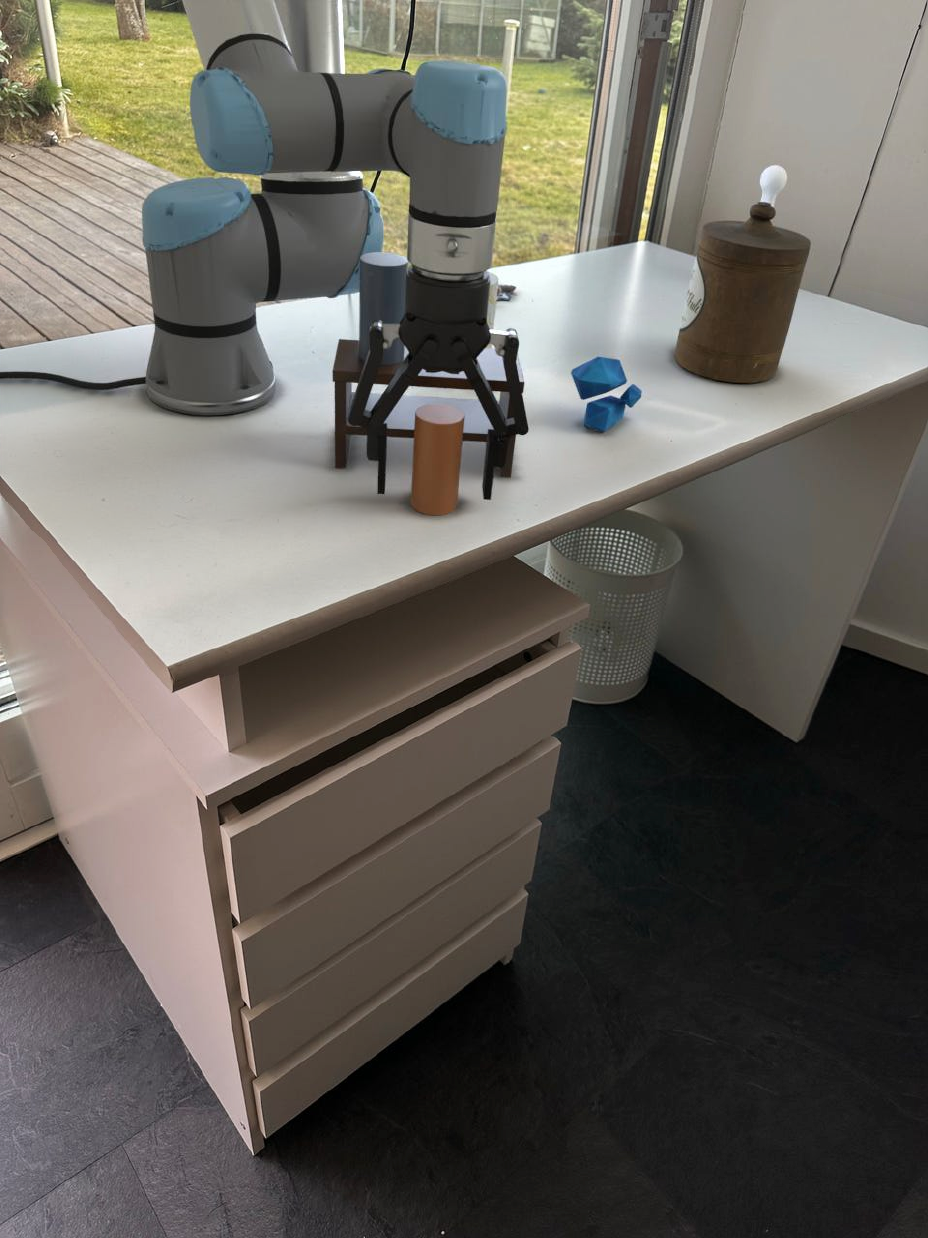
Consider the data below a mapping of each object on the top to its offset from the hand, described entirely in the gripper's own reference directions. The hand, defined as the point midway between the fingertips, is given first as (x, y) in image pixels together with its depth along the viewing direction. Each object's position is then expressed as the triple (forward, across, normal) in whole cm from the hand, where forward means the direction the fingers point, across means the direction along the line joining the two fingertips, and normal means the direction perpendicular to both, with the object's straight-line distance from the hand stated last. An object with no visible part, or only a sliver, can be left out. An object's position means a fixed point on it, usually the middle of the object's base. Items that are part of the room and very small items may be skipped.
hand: (434, 490), depth 94 cm
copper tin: (+1, 0, 0) cm, 1 cm away
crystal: (+2, +21, +22) cm, 30 cm away
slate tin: (-10, -6, +11) cm, 16 cm away
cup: (+2, +4, +38) cm, 38 cm away
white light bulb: (+2, +57, +85) cm, 102 cm away
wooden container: (+2, +43, +45) cm, 62 cm away
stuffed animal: (+2, +7, +69) cm, 69 cm away
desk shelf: (+1, -1, +11) cm, 11 cm away
